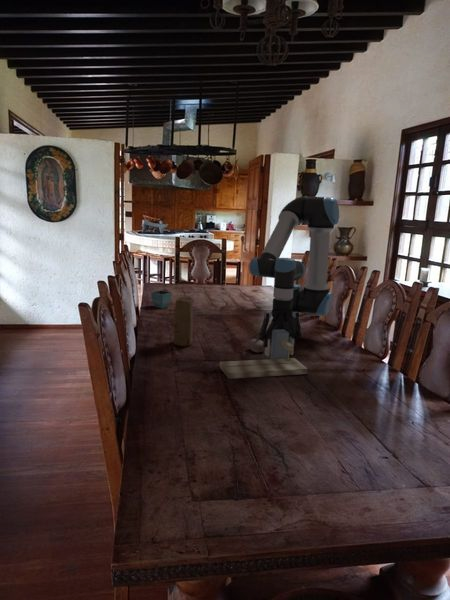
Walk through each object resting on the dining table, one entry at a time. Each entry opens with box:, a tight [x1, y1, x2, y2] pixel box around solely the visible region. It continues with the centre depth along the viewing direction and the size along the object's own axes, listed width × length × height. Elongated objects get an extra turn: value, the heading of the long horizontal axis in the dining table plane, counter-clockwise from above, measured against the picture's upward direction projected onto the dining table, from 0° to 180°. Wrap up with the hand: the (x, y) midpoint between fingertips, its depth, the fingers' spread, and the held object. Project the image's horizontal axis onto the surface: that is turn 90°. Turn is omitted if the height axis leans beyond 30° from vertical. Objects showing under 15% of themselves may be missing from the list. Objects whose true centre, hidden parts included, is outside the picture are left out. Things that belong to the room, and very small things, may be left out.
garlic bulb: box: [249, 331, 265, 353], centre depth 190 cm, size 8×7×8 cm
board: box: [219, 357, 309, 379], centre depth 167 cm, size 30×12×2 cm, turn 105°
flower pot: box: [150, 289, 173, 309], centre depth 263 cm, size 9×9×9 cm
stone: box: [173, 296, 194, 347], centre depth 194 cm, size 11×8×20 cm
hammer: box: [269, 329, 294, 362], centre depth 174 cm, size 5×13×12 cm, turn 15°
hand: (278, 354), depth 179 cm, fingers open, 9 cm apart
